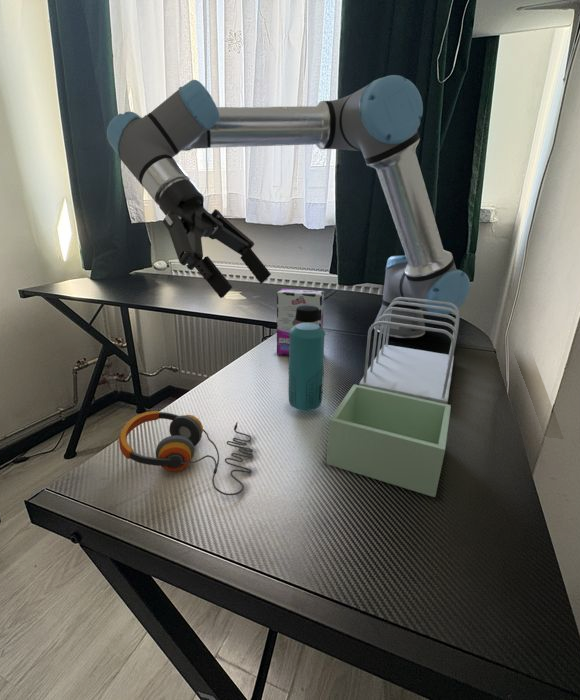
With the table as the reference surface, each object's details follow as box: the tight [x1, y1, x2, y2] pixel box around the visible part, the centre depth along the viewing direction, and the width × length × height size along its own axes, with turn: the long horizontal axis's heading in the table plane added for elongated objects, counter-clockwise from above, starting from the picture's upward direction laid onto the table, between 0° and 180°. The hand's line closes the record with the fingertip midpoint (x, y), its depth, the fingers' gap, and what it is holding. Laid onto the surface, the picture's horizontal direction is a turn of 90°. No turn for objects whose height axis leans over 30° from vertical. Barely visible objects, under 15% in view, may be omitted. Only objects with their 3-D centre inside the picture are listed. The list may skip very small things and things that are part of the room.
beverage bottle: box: [287, 305, 326, 411], centre depth 68 cm, size 6×7×20 cm
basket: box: [325, 383, 452, 498], centre depth 58 cm, size 13×16×8 cm
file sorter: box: [358, 297, 460, 404], centre depth 83 cm, size 25×17×16 cm
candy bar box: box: [276, 288, 325, 357], centre depth 94 cm, size 11×5×16 cm, turn 78°
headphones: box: [118, 410, 254, 496], centre depth 57 cm, size 17×5×20 cm
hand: (248, 285), depth 68 cm, fingers open, 13 cm apart
